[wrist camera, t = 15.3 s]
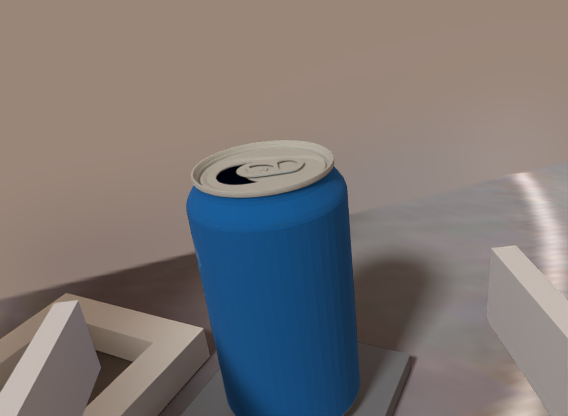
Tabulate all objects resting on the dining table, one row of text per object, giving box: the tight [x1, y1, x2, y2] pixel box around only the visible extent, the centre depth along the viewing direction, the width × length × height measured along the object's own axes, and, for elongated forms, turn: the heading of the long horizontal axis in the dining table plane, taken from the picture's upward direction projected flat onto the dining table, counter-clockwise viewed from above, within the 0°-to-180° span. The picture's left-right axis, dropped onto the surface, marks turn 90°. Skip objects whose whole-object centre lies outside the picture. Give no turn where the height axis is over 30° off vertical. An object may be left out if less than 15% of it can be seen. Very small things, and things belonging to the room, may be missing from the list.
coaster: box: [181, 342, 411, 416], centre depth 26 cm, size 9×9×1 cm
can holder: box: [0, 293, 210, 416], centre depth 28 cm, size 11×11×2 cm
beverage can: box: [186, 140, 360, 416], centre depth 23 cm, size 6×6×12 cm
